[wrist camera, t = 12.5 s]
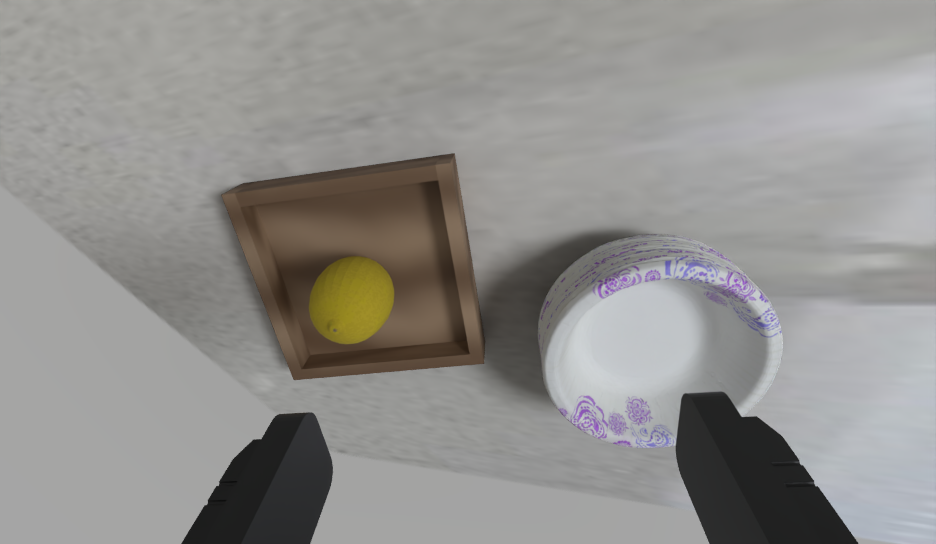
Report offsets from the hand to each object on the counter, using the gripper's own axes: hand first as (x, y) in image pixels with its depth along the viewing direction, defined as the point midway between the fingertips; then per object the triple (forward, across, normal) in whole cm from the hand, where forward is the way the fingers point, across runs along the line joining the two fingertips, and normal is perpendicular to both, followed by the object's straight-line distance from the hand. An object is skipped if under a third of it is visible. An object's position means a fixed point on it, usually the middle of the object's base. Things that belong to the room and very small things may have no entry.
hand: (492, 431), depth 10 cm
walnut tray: (+25, +10, +8) cm, 28 cm away
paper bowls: (+25, -10, +13) cm, 30 cm away
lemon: (+24, +10, +8) cm, 27 cm away
